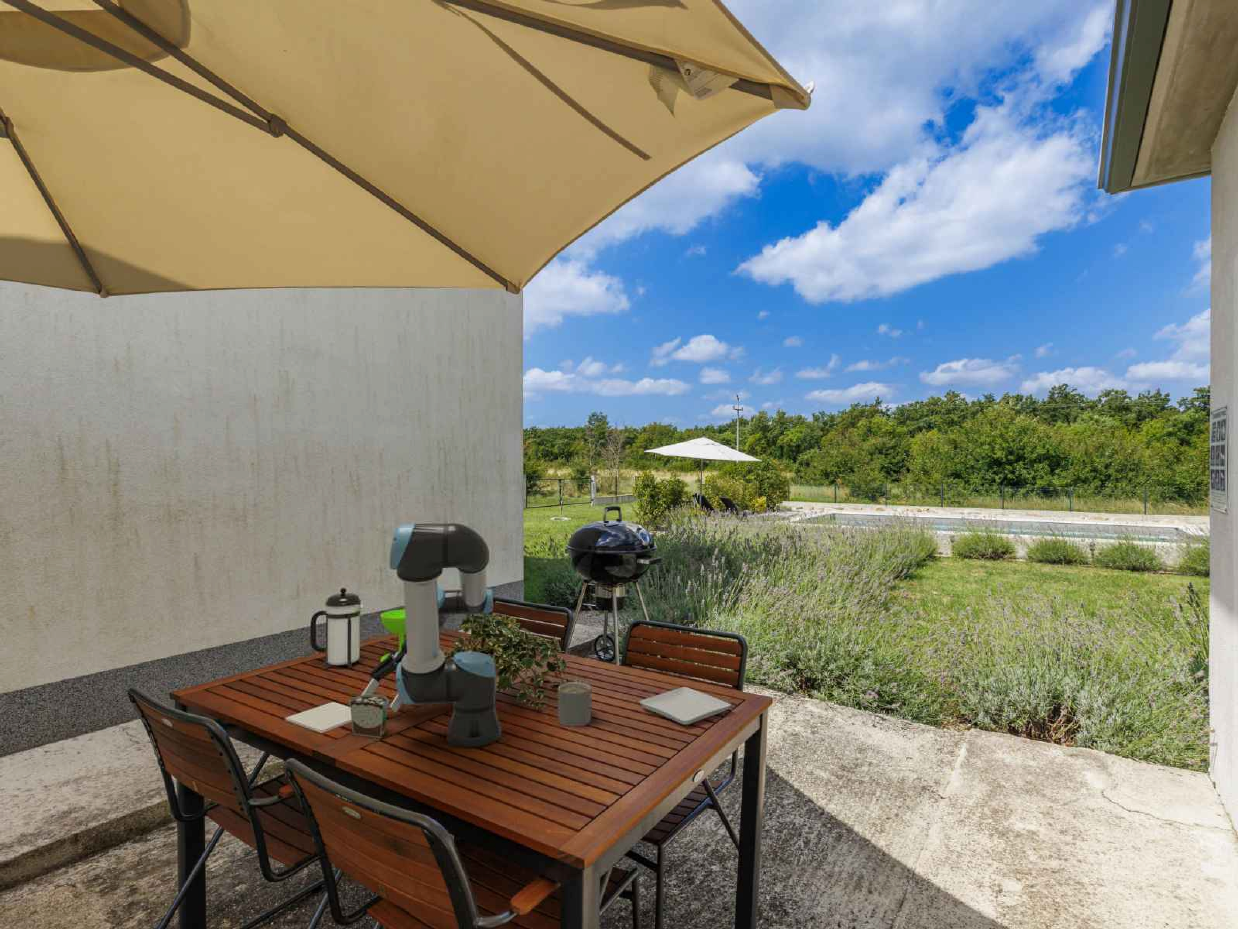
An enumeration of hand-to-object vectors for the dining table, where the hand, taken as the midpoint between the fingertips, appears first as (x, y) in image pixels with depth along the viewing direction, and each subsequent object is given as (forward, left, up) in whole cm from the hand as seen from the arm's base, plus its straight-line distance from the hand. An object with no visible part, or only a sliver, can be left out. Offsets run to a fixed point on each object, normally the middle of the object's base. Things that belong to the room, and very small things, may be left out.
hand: (377, 705), depth 192 cm
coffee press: (+65, -32, -7) cm, 73 cm away
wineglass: (+52, -51, -7) cm, 74 cm away
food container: (-1, +2, -7) cm, 7 cm away
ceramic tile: (+20, +3, -7) cm, 21 cm away
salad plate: (-70, -61, -8) cm, 93 cm away
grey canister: (-45, -38, -7) cm, 59 cm away
